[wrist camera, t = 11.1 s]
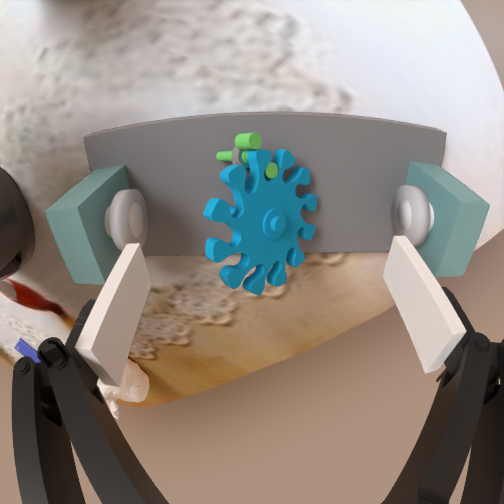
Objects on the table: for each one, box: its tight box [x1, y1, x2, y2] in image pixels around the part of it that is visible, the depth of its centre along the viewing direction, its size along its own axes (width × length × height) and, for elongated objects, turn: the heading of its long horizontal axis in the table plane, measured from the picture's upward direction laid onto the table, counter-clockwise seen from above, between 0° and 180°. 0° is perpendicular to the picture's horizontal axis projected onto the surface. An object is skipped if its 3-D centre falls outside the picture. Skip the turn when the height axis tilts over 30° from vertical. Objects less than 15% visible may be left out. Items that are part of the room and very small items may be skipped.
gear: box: [203, 133, 317, 295], centre depth 20 cm, size 11×6×10 cm
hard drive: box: [14, 336, 41, 363], centre depth 44 cm, size 2×8×12 cm
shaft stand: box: [44, 112, 490, 285], centre depth 19 cm, size 31×12×9 cm, turn 92°
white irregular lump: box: [97, 358, 149, 419], centre depth 37 cm, size 12×8×11 cm
